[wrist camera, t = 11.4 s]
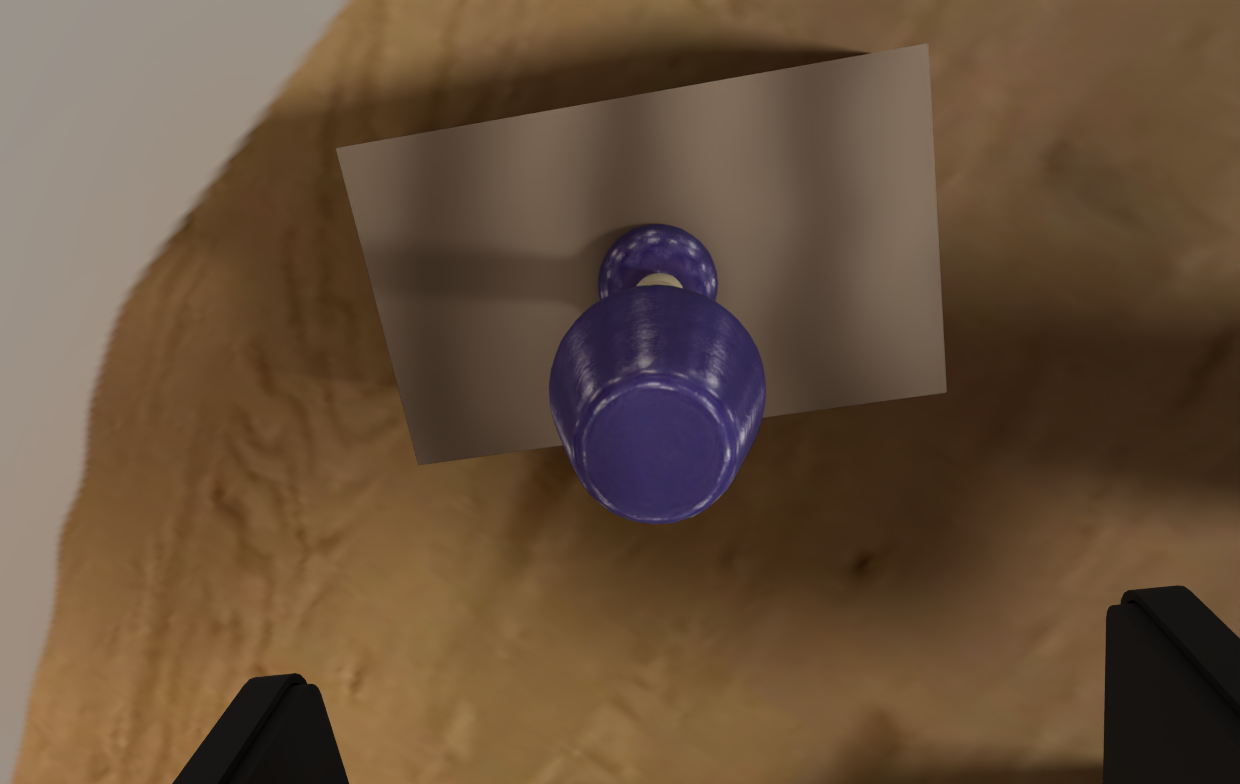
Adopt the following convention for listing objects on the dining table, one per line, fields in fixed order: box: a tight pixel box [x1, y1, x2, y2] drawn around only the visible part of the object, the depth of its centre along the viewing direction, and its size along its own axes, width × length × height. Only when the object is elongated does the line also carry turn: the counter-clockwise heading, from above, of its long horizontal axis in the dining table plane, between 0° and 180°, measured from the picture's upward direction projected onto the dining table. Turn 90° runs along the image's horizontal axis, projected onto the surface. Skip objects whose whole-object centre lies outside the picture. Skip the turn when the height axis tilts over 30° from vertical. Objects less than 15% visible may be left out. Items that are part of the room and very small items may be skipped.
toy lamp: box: [549, 224, 766, 524], centre depth 23 cm, size 5×5×17 cm
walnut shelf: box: [336, 43, 947, 465], centre depth 35 cm, size 20×12×8 cm, turn 100°
